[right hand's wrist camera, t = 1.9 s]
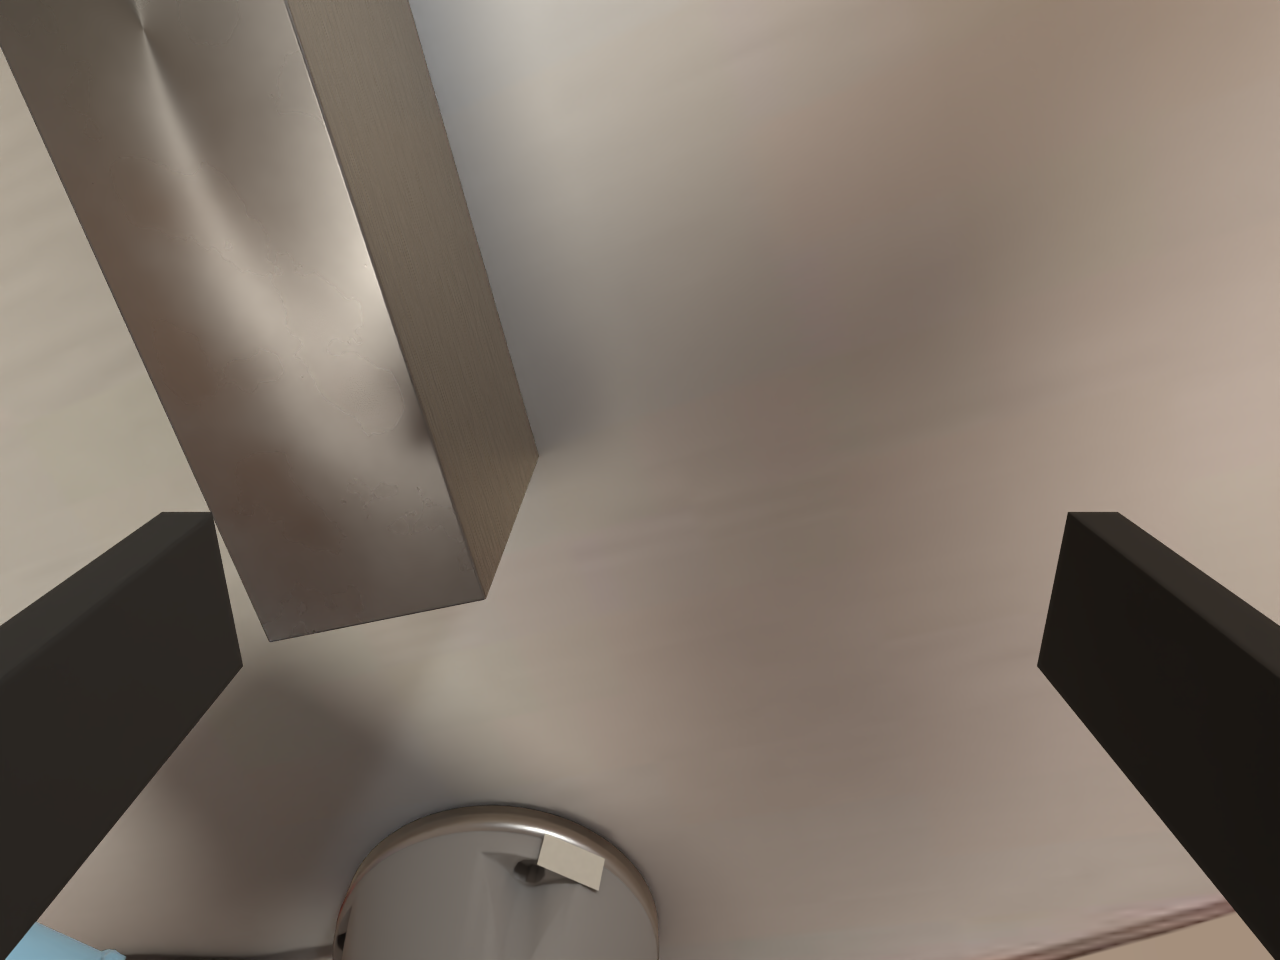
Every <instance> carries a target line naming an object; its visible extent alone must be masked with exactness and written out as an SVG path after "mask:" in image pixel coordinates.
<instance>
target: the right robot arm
mask: <svg viewBox="0 0 1280 960" xmlns="http://www.w3.org/2000/svg"><path fill="white" fill-rule="evenodd" d="M242 667H243V664H242V659H241V654H240V649H239V644H238V639H237V634H236V629H235V624H234V619H233V614H232V609H231V604H230V599H229V594H228V589H227V584H226V579H225V574H224V569H223V564H222V559H221V554H220V549H219V544H218V539H217V535H216V530H215V525H214V520H213V515H212V512H162V513H160V514H159V515H157V516H156V517H154V518H153V519H152V520H150V521H149V522H147V523H146V524H145V525H143V526H142V527H140V528H139V529H137V530H136V531H135V532H133V533H132V534H130V535H129V536H127V537H126V538H125V539H123V540H122V541H120V542H119V543H118V544H116V545H115V546H113V547H112V548H110V549H109V550H108V551H106V552H105V553H103V554H102V555H100V556H99V557H98V558H96V559H95V560H93V561H92V562H91V563H89V564H88V565H86V566H85V567H83V568H82V569H81V570H79V571H78V572H76V573H75V574H73V575H72V576H71V577H69V578H68V579H66V580H65V581H64V582H62V583H61V584H59V585H58V586H56V587H55V588H54V589H52V590H51V591H49V592H48V593H46V594H45V595H44V596H42V597H41V598H39V599H38V600H37V601H35V602H34V603H32V604H31V605H29V606H28V607H27V608H25V609H24V610H22V611H21V612H19V613H18V614H17V615H15V616H14V617H12V618H11V619H10V620H8V621H7V622H5V623H4V624H2V625H1V626H0V960H125V959H126V956H124V955H122V954H120V953H119V952H117V951H116V950H111V949H107V950H104V951H100V950H97V949H95V948H93V947H91V946H88V945H86V944H84V943H82V942H80V941H77V940H75V939H73V938H71V937H69V936H66V935H64V934H62V933H60V932H57V931H55V930H53V929H51V928H49V927H46V926H44V925H42V924H40V923H38V922H36V921H37V920H38V918H39V917H40V916H41V915H42V913H43V912H44V911H45V910H46V909H47V907H48V906H49V905H50V904H51V902H52V901H53V900H54V899H55V897H56V896H57V895H58V894H59V892H60V891H61V890H62V889H63V888H64V886H65V885H66V884H67V883H68V881H69V880H70V879H71V878H72V876H73V875H74V874H75V873H76V872H77V870H78V869H79V868H80V867H81V865H82V864H83V863H84V862H85V860H86V859H87V858H88V857H89V855H90V854H91V853H92V852H93V851H94V849H95V848H96V847H97V846H98V844H99V843H100V842H101V841H102V839H103V838H104V837H105V836H106V834H107V833H108V832H109V831H110V830H111V828H112V827H113V826H114V825H115V823H116V822H117V821H118V820H119V818H120V817H121V816H122V815H123V813H124V812H125V811H126V810H127V809H128V807H129V806H130V805H131V804H132V802H133V801H134V800H135V799H136V797H137V796H138V795H139V794H140V792H141V791H142V790H143V789H144V788H145V786H146V785H147V784H148V783H149V781H150V780H151V779H152V778H153V776H154V775H155V774H156V773H157V771H158V770H159V769H160V768H161V767H162V765H163V764H164V763H165V762H166V760H167V759H168V758H169V757H170V755H171V754H172V753H173V752H174V750H175V749H176V748H177V747H178V746H179V744H180V743H181V742H182V741H183V739H184V738H185V737H186V736H187V734H188V733H189V732H190V731H191V730H192V728H193V727H194V726H195V725H196V723H197V722H198V721H199V720H200V718H201V717H202V716H203V715H204V713H205V712H206V711H207V710H208V709H209V707H210V706H211V705H212V704H213V702H214V701H215V700H216V699H217V697H218V696H219V695H220V694H221V692H222V691H223V690H224V689H225V688H226V686H227V685H228V684H229V683H230V681H231V680H232V679H233V678H234V676H235V675H236V674H237V673H238V671H239V670H240V669H241V668H242ZM1037 667H1038V668H1039V669H1040V670H1041V671H1042V673H1043V674H1044V675H1045V676H1046V678H1047V679H1048V680H1049V681H1050V683H1051V684H1052V685H1053V686H1054V688H1055V689H1056V690H1057V691H1058V692H1059V694H1060V695H1061V696H1062V697H1063V699H1064V700H1065V701H1066V702H1067V704H1068V705H1069V706H1070V707H1071V709H1072V710H1073V711H1074V712H1075V713H1076V715H1077V716H1078V717H1079V718H1080V720H1081V721H1082V722H1083V723H1084V725H1085V726H1086V727H1087V728H1088V730H1089V731H1090V732H1091V733H1092V734H1093V736H1094V737H1095V738H1096V739H1097V741H1098V742H1099V743H1100V744H1101V746H1102V747H1103V748H1104V749H1105V751H1106V752H1107V753H1108V754H1109V755H1110V757H1111V758H1112V759H1113V760H1114V762H1115V763H1116V764H1117V765H1118V767H1119V768H1120V769H1121V770H1122V771H1123V773H1124V774H1125V775H1126V776H1127V778H1128V779H1129V780H1130V781H1131V783H1132V784H1133V785H1134V786H1135V788H1136V789H1137V790H1138V791H1139V792H1140V794H1141V795H1142V796H1143V797H1144V799H1145V800H1146V801H1147V802H1148V804H1149V805H1150V806H1151V807H1152V809H1153V810H1154V811H1155V812H1156V813H1157V815H1158V816H1159V817H1160V818H1161V820H1162V821H1163V822H1164V823H1165V825H1166V826H1167V827H1168V828H1169V830H1170V831H1171V832H1172V833H1173V834H1174V836H1175V837H1176V838H1177V839H1178V841H1179V842H1180V843H1181V844H1182V846H1183V847H1184V848H1185V849H1186V851H1187V852H1188V853H1189V854H1190V855H1191V857H1192V858H1193V859H1194V860H1195V862H1196V863H1197V864H1198V865H1199V867H1200V868H1201V869H1202V870H1203V872H1204V873H1205V874H1206V875H1207V876H1208V878H1209V879H1210V880H1211V881H1212V883H1213V884H1214V885H1215V886H1216V888H1217V889H1218V890H1219V891H1220V892H1221V894H1222V895H1223V896H1224V897H1225V899H1226V900H1227V901H1228V902H1229V904H1230V905H1231V906H1232V907H1233V909H1234V910H1235V911H1236V912H1237V913H1238V915H1239V916H1240V917H1241V918H1242V920H1243V921H1244V922H1245V923H1246V925H1247V926H1248V927H1249V928H1250V930H1251V931H1252V932H1253V933H1254V934H1255V936H1256V937H1257V938H1258V939H1259V941H1260V942H1261V943H1262V944H1263V946H1264V947H1265V948H1266V949H1267V951H1268V952H1269V953H1270V954H1271V955H1272V957H1273V958H1274V959H1275V960H1280V626H1279V625H1278V624H1276V623H1275V622H1273V621H1272V620H1270V619H1269V618H1268V617H1266V616H1265V615H1263V614H1262V613H1261V612H1259V611H1258V610H1256V609H1255V608H1253V607H1252V606H1251V605H1249V604H1248V603H1246V602H1245V601H1243V600H1242V599H1241V598H1239V597H1238V596H1236V595H1235V594H1234V593H1232V592H1231V591H1229V590H1228V589H1226V588H1225V587H1224V586H1222V585H1221V584H1219V583H1218V582H1216V581H1215V580H1214V579H1212V578H1211V577H1209V576H1208V575H1207V574H1205V573H1204V572H1202V571H1201V570H1199V569H1198V568H1197V567H1195V566H1194V565H1192V564H1191V563H1189V562H1188V561H1187V560H1185V559H1184V558H1182V557H1181V556H1180V555H1178V554H1177V553H1175V552H1174V551H1172V550H1171V549H1170V548H1168V547H1167V546H1165V545H1164V544H1162V543H1161V542H1160V541H1158V540H1157V539H1155V538H1154V537H1153V536H1151V535H1150V534H1148V533H1147V532H1145V531H1144V530H1143V529H1141V528H1140V527H1138V526H1137V525H1135V524H1134V523H1133V522H1131V521H1130V520H1128V519H1127V518H1126V517H1124V516H1123V515H1121V514H1120V513H1118V512H1068V515H1067V520H1066V525H1065V530H1064V534H1063V539H1062V544H1061V549H1060V554H1059V559H1058V564H1057V569H1056V574H1055V579H1054V584H1053V589H1052V594H1051V599H1050V604H1049V609H1048V614H1047V619H1046V624H1045V629H1044V634H1043V639H1042V644H1041V649H1040V654H1039V659H1038V664H1037ZM658 959H659V944H658V917H657V912H656V907H655V904H654V900H653V897H652V895H651V893H650V890H649V888H648V886H647V884H646V882H645V881H644V879H643V878H642V876H641V874H640V873H639V872H638V870H637V869H636V868H635V866H634V865H633V864H632V863H631V862H630V861H629V860H628V859H627V858H626V856H625V855H624V854H623V853H621V852H620V851H619V850H618V849H617V848H616V847H614V846H613V845H612V844H611V843H609V842H608V841H606V840H605V839H604V838H602V837H601V836H599V835H598V834H596V833H594V832H592V831H591V830H589V829H587V828H585V827H583V826H581V825H579V824H577V823H575V822H572V821H570V820H567V819H564V818H562V817H559V816H556V815H553V814H549V813H546V812H542V811H537V810H532V809H528V808H521V807H513V806H497V805H488V806H471V807H462V808H456V809H451V810H446V811H442V812H438V813H435V814H431V815H429V816H426V817H423V818H421V819H418V820H416V821H413V822H411V823H409V824H407V825H405V826H403V827H402V828H400V829H398V830H397V831H395V832H393V833H392V834H390V835H389V836H388V837H387V838H385V839H384V840H383V841H381V842H380V843H379V844H378V845H377V846H376V847H375V848H374V849H373V850H372V851H371V852H370V853H369V854H368V856H367V857H366V858H365V859H364V860H363V862H362V864H361V865H360V867H359V868H358V870H357V872H356V874H355V876H354V878H353V880H352V882H351V885H350V887H349V890H348V892H347V894H346V897H345V899H344V902H343V904H342V907H341V909H340V913H339V916H338V919H337V925H336V931H335V936H334V943H333V960H658Z"/></svg>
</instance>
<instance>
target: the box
mask: <svg viewBox="0 0 1280 960" xmlns="http://www.w3.org/2000/svg"><path fill="white" fill-rule="evenodd" d="M0 47H1V49H2V51H3V53H4V55H5V58H6V60H7V62H8V64H9V66H10V69H11V71H12V73H13V75H14V78H15V80H16V82H17V84H18V86H19V89H20V91H21V93H22V95H23V97H24V100H25V102H26V104H27V106H28V109H29V111H30V113H31V115H32V117H33V120H34V122H35V124H36V126H37V129H38V131H39V133H40V135H41V137H42V140H43V142H44V144H45V146H46V148H47V151H48V153H49V155H50V157H51V160H52V162H53V164H54V166H55V168H56V171H57V173H58V175H59V177H60V179H61V182H62V184H63V186H64V188H65V191H66V193H67V195H68V197H69V199H70V202H71V204H72V206H73V208H74V210H75V213H76V215H77V217H78V219H79V222H80V224H81V226H82V228H83V230H84V233H85V235H86V237H87V239H88V241H89V244H90V246H91V248H92V250H93V253H94V255H95V257H96V259H97V261H98V264H99V266H100V268H101V270H102V273H103V275H104V277H105V279H106V281H107V284H108V286H109V288H110V290H111V292H112V295H113V297H114V299H115V301H116V304H117V306H118V308H119V310H120V312H121V315H122V317H123V319H124V321H125V323H126V326H127V328H128V330H129V332H130V335H131V337H132V339H133V341H134V343H135V346H136V348H137V350H138V352H139V354H140V357H141V359H142V361H143V363H144V366H145V368H146V370H147V372H148V374H149V377H150V379H151V381H152V383H153V386H154V388H155V390H156V392H157V394H158V397H159V399H160V401H161V403H162V405H163V408H164V410H165V412H166V414H167V417H168V419H169V421H170V423H171V425H172V428H173V430H174V432H175V434H176V436H177V439H178V441H179V443H180V445H181V448H182V450H183V452H184V454H185V456H186V459H187V461H188V463H189V465H190V467H191V470H192V472H193V474H194V476H195V479H196V481H197V483H198V485H199V487H200V490H201V492H202V494H203V496H204V499H205V501H206V503H207V505H208V507H209V510H210V512H212V515H213V518H214V521H215V523H216V525H217V527H218V530H219V532H220V534H221V536H222V538H223V541H224V543H225V545H226V547H227V549H228V552H229V554H230V556H231V558H232V561H233V563H234V565H235V567H236V569H237V572H238V574H239V576H240V578H241V580H242V583H243V585H244V587H245V589H246V592H247V594H248V596H249V598H250V600H251V603H252V605H253V607H254V609H255V611H256V614H257V616H258V618H259V620H260V623H261V625H262V627H263V629H264V631H265V634H266V636H267V638H268V640H269V642H274V641H279V640H284V639H289V638H294V637H299V636H304V635H309V634H314V633H319V632H324V631H329V630H334V629H339V628H344V627H349V626H354V625H359V624H364V623H369V622H374V621H379V620H384V619H389V618H395V617H400V616H405V615H410V614H415V613H420V612H425V611H430V610H435V609H440V608H445V607H450V606H455V605H460V604H465V603H470V602H475V601H480V600H484V599H486V597H487V594H488V592H489V589H490V586H491V584H492V581H493V578H494V576H495V573H496V570H497V568H498V565H499V562H500V560H501V557H502V554H503V551H504V549H505V546H506V543H507V541H508V538H509V535H510V533H511V530H512V527H513V525H514V522H515V519H516V517H517V514H518V511H519V508H520V506H521V503H522V500H523V498H524V495H525V492H526V490H527V487H528V484H529V482H530V479H531V476H532V474H533V471H534V468H535V465H536V463H537V460H538V457H539V455H538V452H537V448H536V445H535V441H534V438H533V434H532V431H531V427H530V424H529V420H528V417H527V413H526V410H525V406H524V403H523V399H522V396H521V392H520V389H519V385H518V382H517V378H516V375H515V371H514V368H513V364H512V361H511V357H510V354H509V350H508V347H507V343H506V340H505V336H504V333H503V329H502V326H501V322H500V319H499V316H498V312H497V309H496V305H495V302H494V298H493V295H492V291H491V288H490V284H489V281H488V277H487V274H486V270H485V267H484V263H483V260H482V256H481V253H480V249H479V246H478V242H477V239H476V235H475V232H474V228H473V225H472V221H471V218H470V214H469V211H468V207H467V204H466V200H465V197H464V193H463V190H462V186H461V183H460V179H459V176H458V172H457V169H456V165H455V162H454V158H453V155H452V152H451V148H450V145H449V141H448V138H447V134H446V131H445V127H444V124H443V120H442V117H441V113H440V110H439V106H438V103H437V99H436V96H435V92H434V89H433V85H432V82H431V78H430V75H429V71H428V68H427V64H426V61H425V57H424V54H423V50H422V47H421V43H420V40H419V36H418V33H417V29H416V26H415V22H414V19H413V15H412V12H411V8H410V5H409V1H408V0H0Z"/></svg>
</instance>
